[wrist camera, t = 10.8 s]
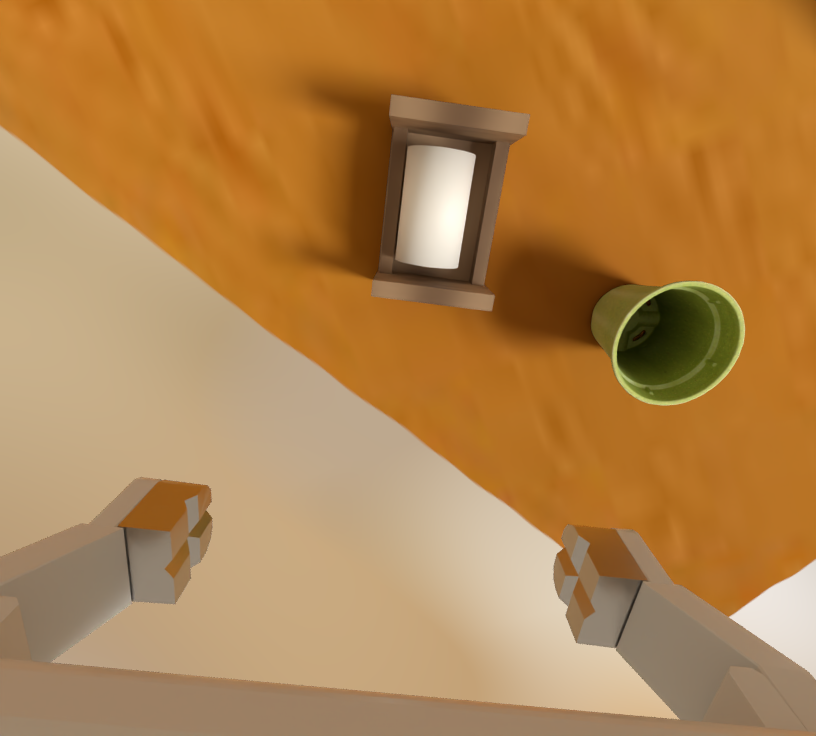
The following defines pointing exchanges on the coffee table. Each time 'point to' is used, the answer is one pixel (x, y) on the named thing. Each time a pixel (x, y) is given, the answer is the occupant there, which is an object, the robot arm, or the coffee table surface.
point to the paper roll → (434, 206)
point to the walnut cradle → (490, 143)
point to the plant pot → (669, 338)
